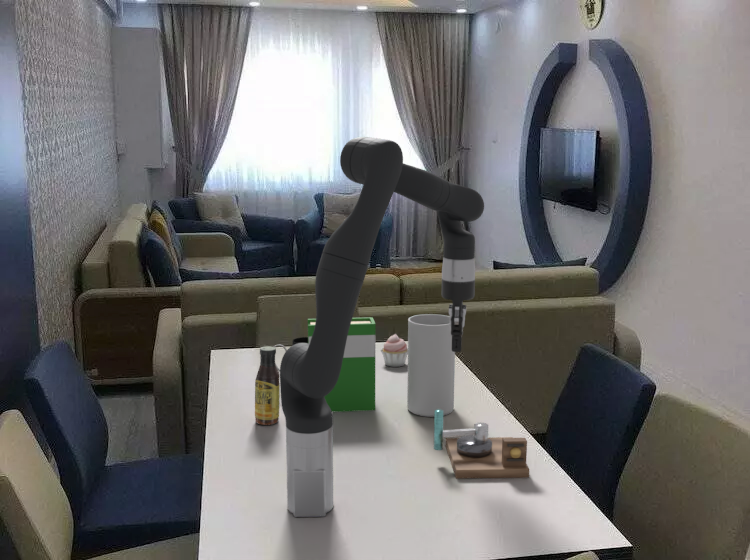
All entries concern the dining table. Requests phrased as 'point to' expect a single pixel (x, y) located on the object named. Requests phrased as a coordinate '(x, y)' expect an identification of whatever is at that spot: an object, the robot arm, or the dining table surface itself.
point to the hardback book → (354, 368)
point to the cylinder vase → (430, 365)
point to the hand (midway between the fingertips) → (456, 350)
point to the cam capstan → (470, 443)
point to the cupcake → (395, 351)
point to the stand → (491, 460)
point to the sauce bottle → (267, 388)
